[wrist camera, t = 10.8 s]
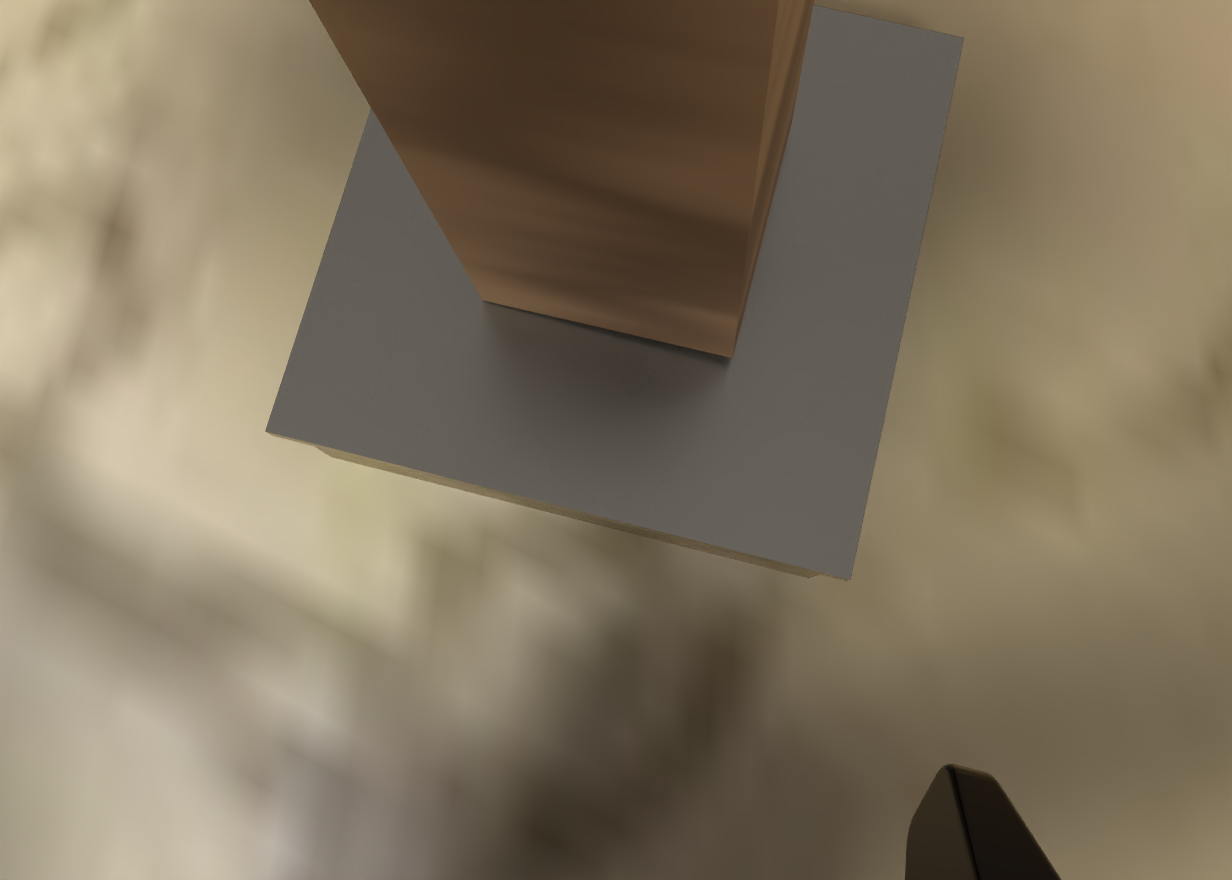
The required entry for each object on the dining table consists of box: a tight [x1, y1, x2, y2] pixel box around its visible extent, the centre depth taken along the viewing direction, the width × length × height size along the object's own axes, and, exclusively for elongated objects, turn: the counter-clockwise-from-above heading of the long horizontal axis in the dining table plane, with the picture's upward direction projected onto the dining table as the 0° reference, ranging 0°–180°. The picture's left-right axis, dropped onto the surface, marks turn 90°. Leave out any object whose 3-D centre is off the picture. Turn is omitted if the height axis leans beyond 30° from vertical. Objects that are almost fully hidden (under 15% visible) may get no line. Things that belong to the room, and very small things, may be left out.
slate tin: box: [265, 5, 964, 581], centre depth 22 cm, size 11×11×4 cm
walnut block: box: [309, 0, 814, 358], centre depth 14 cm, size 5×5×13 cm
